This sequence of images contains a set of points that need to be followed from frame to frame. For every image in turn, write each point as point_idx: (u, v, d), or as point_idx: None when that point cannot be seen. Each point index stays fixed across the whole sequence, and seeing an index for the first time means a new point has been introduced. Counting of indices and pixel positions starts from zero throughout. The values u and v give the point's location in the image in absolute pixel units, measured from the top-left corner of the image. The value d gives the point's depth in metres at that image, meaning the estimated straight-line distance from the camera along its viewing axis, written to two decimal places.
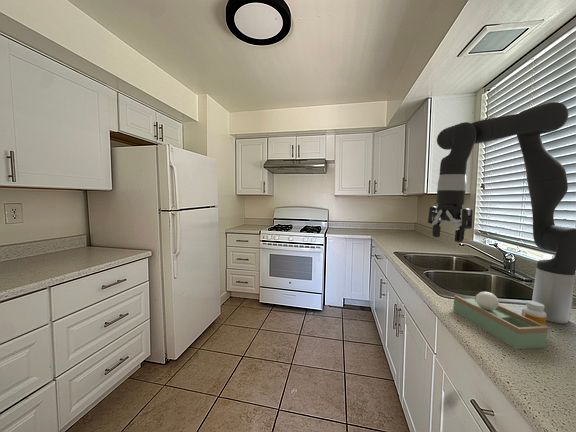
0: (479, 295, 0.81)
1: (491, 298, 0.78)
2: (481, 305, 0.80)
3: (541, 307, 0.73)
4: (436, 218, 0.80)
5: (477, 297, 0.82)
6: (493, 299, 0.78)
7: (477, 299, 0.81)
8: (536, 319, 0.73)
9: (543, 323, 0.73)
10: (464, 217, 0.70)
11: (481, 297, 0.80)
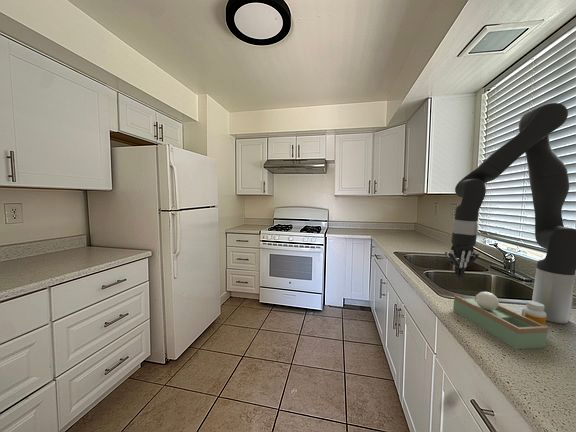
0: (479, 295, 0.81)
1: (491, 298, 0.78)
2: (481, 305, 0.80)
3: (541, 307, 0.73)
4: (462, 259, 0.89)
5: (477, 297, 0.82)
6: (493, 299, 0.78)
7: (477, 299, 0.81)
8: (536, 319, 0.73)
9: (543, 323, 0.73)
10: (474, 259, 0.91)
11: (481, 297, 0.80)
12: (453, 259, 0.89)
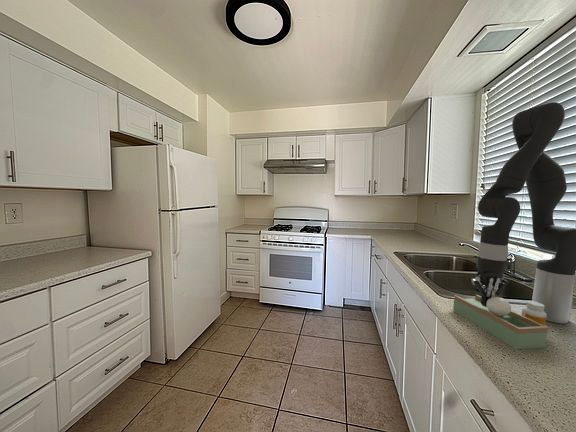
0: (495, 304, 0.75)
1: (503, 313, 0.74)
2: (488, 309, 0.78)
3: (541, 307, 0.73)
4: (490, 288, 0.79)
5: (491, 303, 0.76)
6: (505, 314, 0.74)
7: (489, 304, 0.77)
8: (536, 319, 0.73)
9: (543, 323, 0.73)
10: (503, 287, 0.80)
11: (494, 307, 0.75)
12: (479, 287, 0.79)
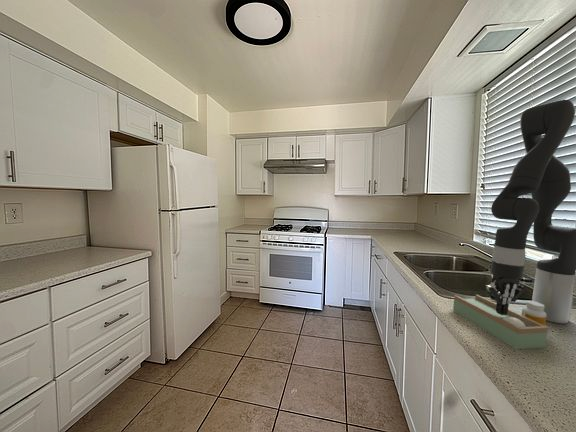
0: None
1: None
2: None
3: (541, 307, 0.73)
4: (506, 295, 0.74)
5: None
6: None
7: None
8: (536, 319, 0.73)
9: (543, 323, 0.73)
10: (519, 293, 0.75)
11: None
12: (495, 294, 0.74)
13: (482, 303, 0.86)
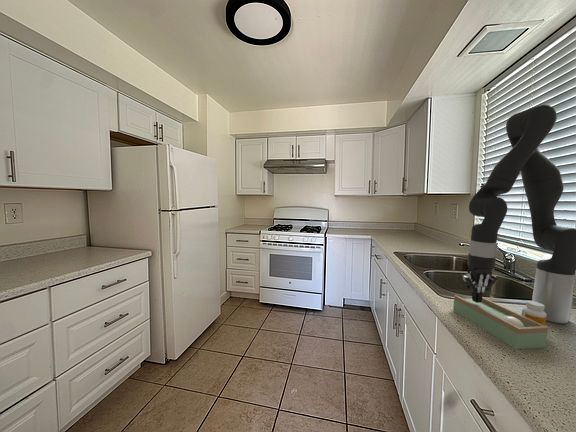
0: None
1: None
2: None
3: (541, 307, 0.73)
4: (480, 284, 0.82)
5: None
6: None
7: None
8: (536, 319, 0.73)
9: (543, 323, 0.73)
10: (492, 283, 0.83)
11: None
12: (470, 284, 0.82)
13: (482, 303, 0.86)
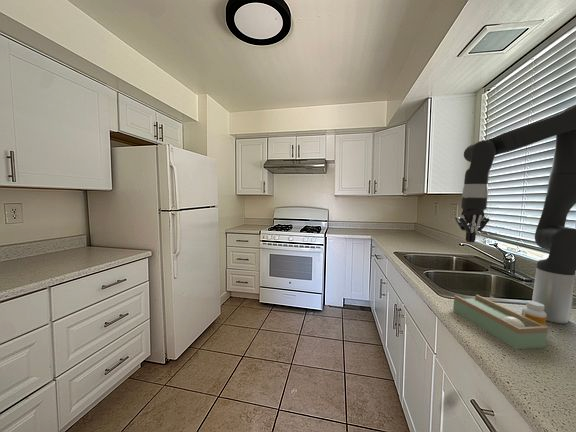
0: None
1: None
2: None
3: (541, 307, 0.73)
4: (473, 224, 0.88)
5: None
6: None
7: None
8: (536, 319, 0.73)
9: (543, 323, 0.73)
10: (485, 224, 0.89)
11: None
12: (464, 224, 0.88)
13: (482, 303, 0.86)
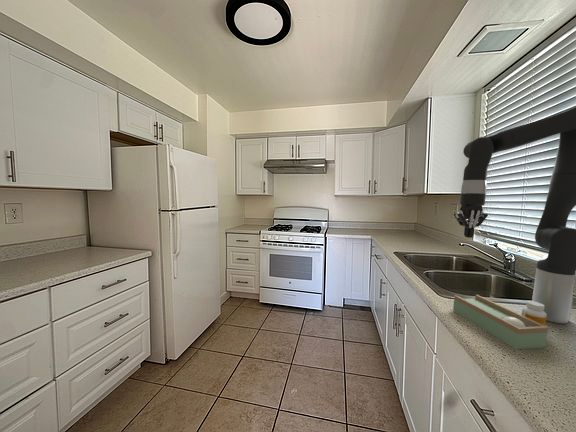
0: None
1: None
2: None
3: (541, 307, 0.73)
4: (472, 219, 0.90)
5: None
6: None
7: None
8: (536, 319, 0.73)
9: (543, 323, 0.73)
10: (483, 219, 0.91)
11: None
12: (462, 219, 0.90)
13: (482, 303, 0.86)
